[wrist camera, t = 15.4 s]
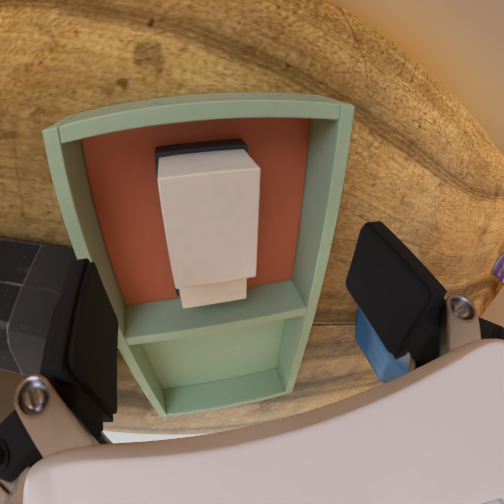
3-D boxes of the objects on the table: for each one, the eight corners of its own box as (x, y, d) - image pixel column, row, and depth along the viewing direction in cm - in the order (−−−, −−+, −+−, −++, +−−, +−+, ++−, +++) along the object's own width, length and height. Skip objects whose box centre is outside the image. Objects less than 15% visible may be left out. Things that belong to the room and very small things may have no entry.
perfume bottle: (354, 338, 31) (404, 423, 22) (357, 306, 27) (420, 405, 18) (397, 316, 32) (450, 392, 22) (405, 283, 28) (471, 367, 18)
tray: (157, 388, 27) (160, 418, 24) (67, 115, 11) (41, 131, 8) (281, 365, 30) (292, 392, 27) (319, 94, 14) (355, 105, 12)
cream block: (154, 146, 13) (151, 174, 10) (242, 138, 14) (266, 163, 11) (175, 283, 18) (181, 331, 15) (241, 273, 19) (258, 318, 16)
